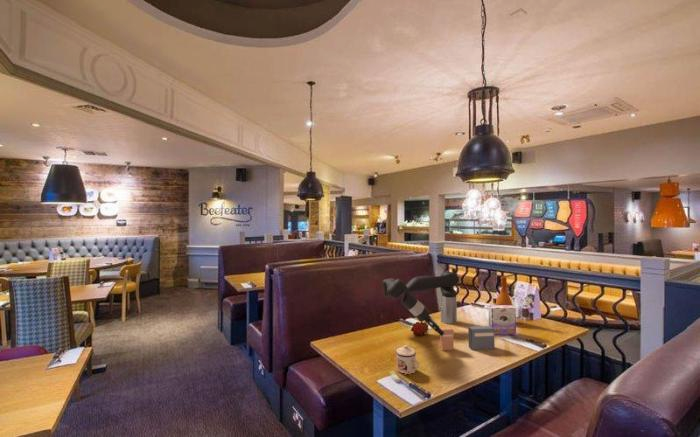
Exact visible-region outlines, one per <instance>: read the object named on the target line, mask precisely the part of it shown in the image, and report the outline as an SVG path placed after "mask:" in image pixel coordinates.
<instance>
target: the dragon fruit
mask: <svg viewBox="0 0 700 437" xmlns="http://www.w3.org/2000/svg"><path fill="white" fill-rule="evenodd" d="M410 332H412V334H413V335H415V336H419V335H420V337H422V336H424V335H425V334H427V333H429V325H428V324H427V323H426V322H425V321H422V322H421V321H416V322H414V323H413V324H412V327H411V329H410Z"/></svg>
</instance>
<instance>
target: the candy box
mask: <svg viewBox="0 0 700 437" xmlns="http://www.w3.org/2000/svg"><path fill="white" fill-rule="evenodd" d="M516 311H517V309H516V307H515V306H514V305H513V304H512V305H496V304H494V305H493V304H492V305H491V304H490V305H488V326H492V327H493V328H494V336H517V323H516V322H517V319H516V318H517V316H516V315H517V314H516Z"/></svg>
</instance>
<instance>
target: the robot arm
mask: <svg viewBox="0 0 700 437" xmlns="http://www.w3.org/2000/svg"><path fill="white" fill-rule="evenodd" d="M459 282H460V277H459V275H457V273H455V272H453V271H449V270H444V271H442V272H441V274H440V275H439V276H438V275H420V276H415V277H413V278H412V279H410V281H408V282H407V283H405V282H404V280H402V279H400V278H397V279H395V278H392V277H390V278H385V279H383V280H382V281H381V285H382V291H383V296H384V297H385V298H392V299H393V300H397V299H398V298H400V296H401V295H403V297H402V298H401V304H402V305H403V306H404V307H405V308H406V309H407V310H408V311H409V312H410V313H411V315H413V316H414V318H416V319H417V320H418V322H425V323H426V324H427V325H428V327H430V328H431V329H433V331H434V332H435V333H438V334H439V336H440V335H441V336H442V335H443V334H444V332H443V331H442V330H441V329H440V326H439V325H438V324H437V322H436V321H435V320H434V319H433V317H432V316H431V314H430V313H431V311H430V310H429V308H427V307H426V306H425V305H424V303H422V302H421V301H419V300H418V299H417V298H416V297H415V296H414V295H413V294H412V293H417V292H424V291H428V290H434V289H439V288H440V293H441V307H440V321H441V322H442V323H445V324H447V325H448V324H449V325H454V324H457V323H458V320H457V319H458V318H457V317H458V315H457V304H458V303H457V291H456V290H455V288H454V287H455V286H457V285H458V284H459Z"/></svg>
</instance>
